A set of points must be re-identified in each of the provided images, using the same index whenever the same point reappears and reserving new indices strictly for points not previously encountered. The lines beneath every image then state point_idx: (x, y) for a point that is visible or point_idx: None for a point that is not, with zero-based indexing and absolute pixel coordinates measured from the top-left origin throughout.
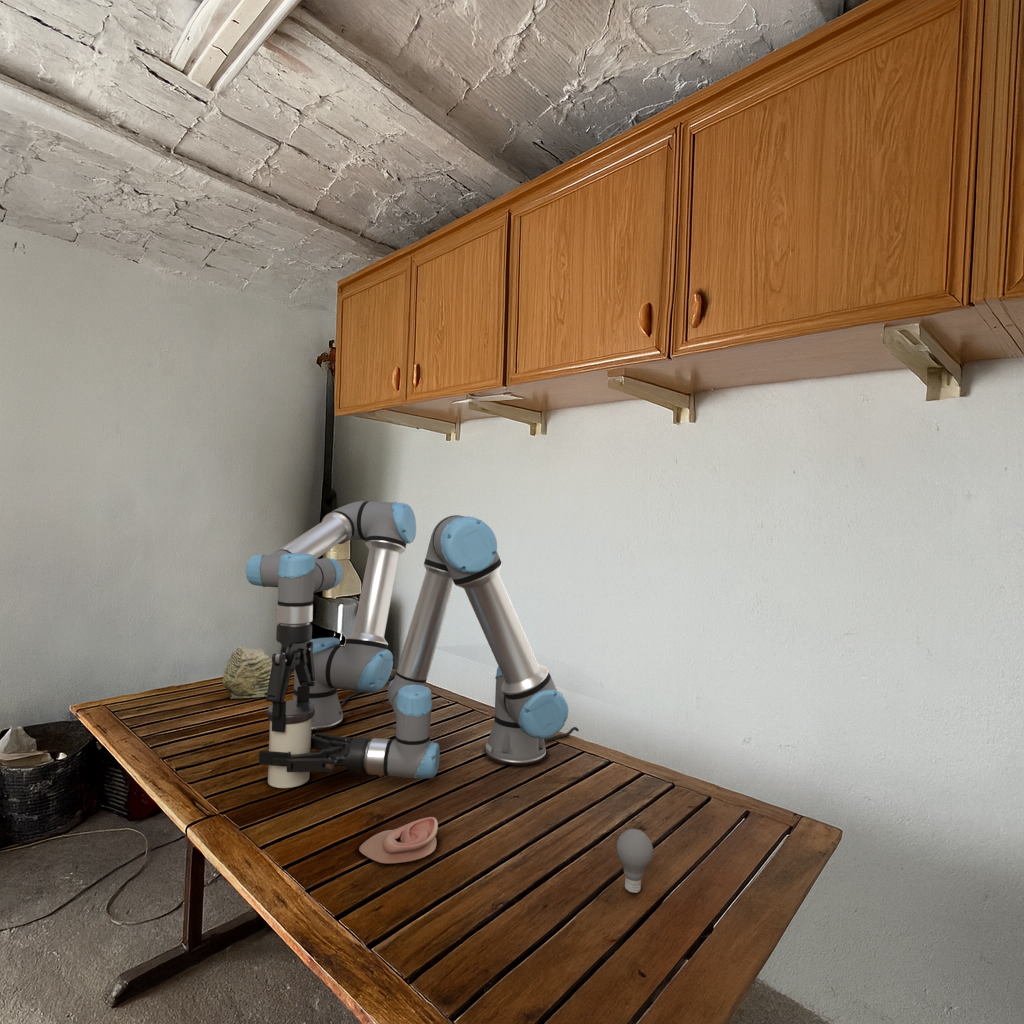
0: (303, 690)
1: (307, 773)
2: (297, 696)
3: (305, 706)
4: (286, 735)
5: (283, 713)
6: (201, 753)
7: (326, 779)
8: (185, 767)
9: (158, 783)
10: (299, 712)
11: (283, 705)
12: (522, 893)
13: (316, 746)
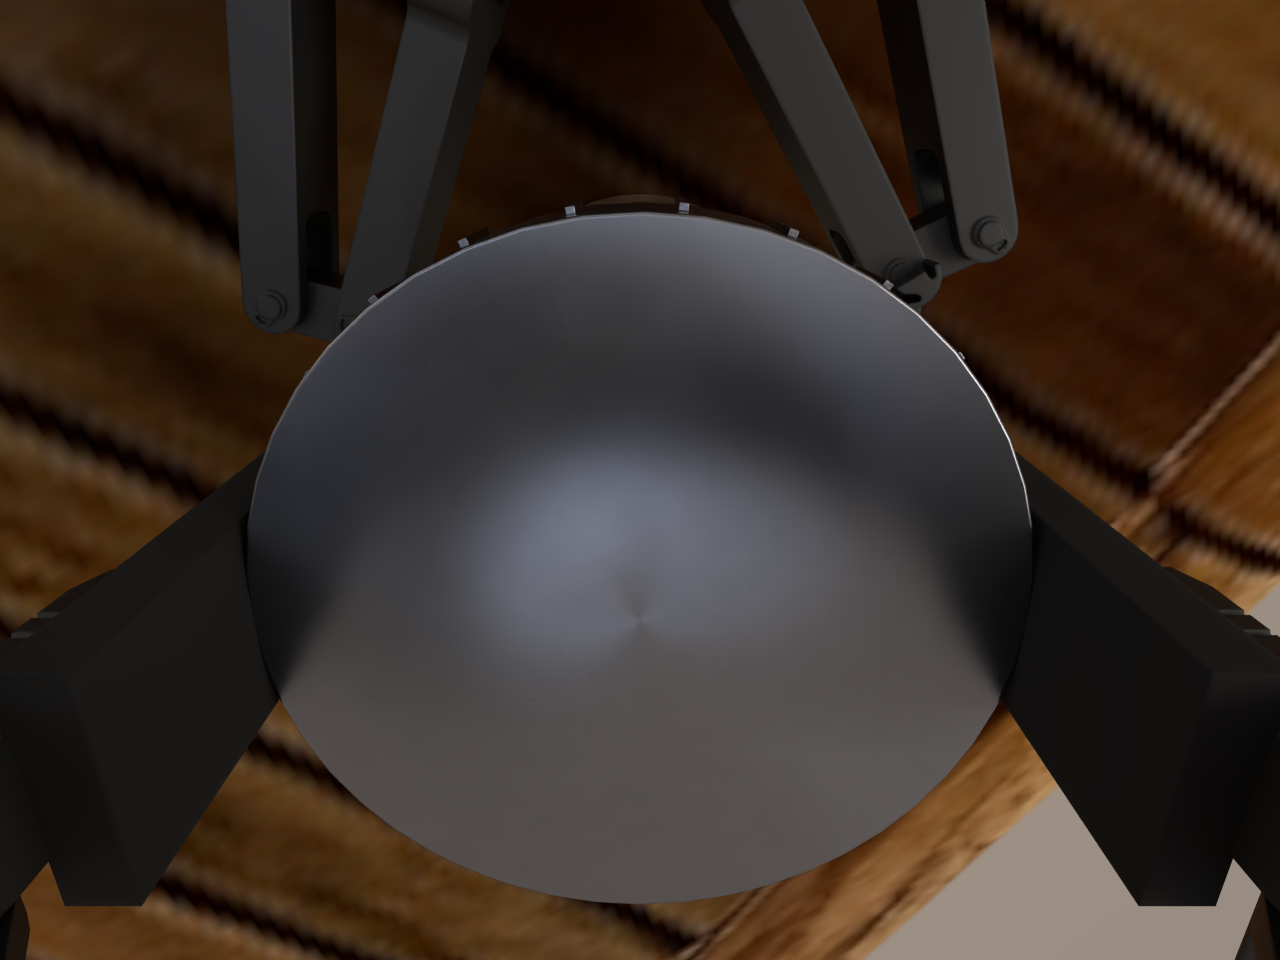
0: (144, 734)
1: (641, 197)
2: (241, 745)
3: (513, 425)
4: None
5: (1140, 553)
6: (474, 952)
7: (563, 58)
8: (653, 926)
9: (850, 927)
10: (864, 367)
11: (1241, 643)
12: None
13: (436, 222)
